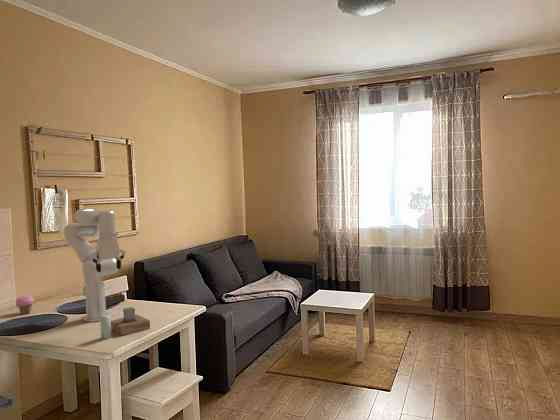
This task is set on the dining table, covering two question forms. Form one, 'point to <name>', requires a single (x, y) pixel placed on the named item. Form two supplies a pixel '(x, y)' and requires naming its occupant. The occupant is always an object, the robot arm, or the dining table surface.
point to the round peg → (105, 326)
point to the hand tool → (114, 300)
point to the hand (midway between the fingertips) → (108, 270)
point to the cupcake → (24, 304)
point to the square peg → (129, 314)
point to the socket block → (130, 325)
